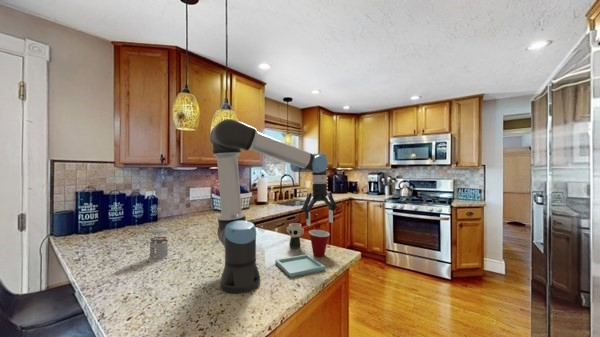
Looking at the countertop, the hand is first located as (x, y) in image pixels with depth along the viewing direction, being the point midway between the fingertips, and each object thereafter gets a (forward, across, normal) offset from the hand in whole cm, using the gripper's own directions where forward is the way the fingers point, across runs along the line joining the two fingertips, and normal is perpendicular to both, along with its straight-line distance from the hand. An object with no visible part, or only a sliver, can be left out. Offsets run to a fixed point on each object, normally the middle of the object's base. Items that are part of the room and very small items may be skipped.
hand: (319, 223), depth 126 cm
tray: (+16, -16, -9) cm, 25 cm away
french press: (+16, -76, +33) cm, 84 cm away
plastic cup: (+16, 0, 0) cm, 16 cm away
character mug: (+16, -6, +17) cm, 24 cm away
